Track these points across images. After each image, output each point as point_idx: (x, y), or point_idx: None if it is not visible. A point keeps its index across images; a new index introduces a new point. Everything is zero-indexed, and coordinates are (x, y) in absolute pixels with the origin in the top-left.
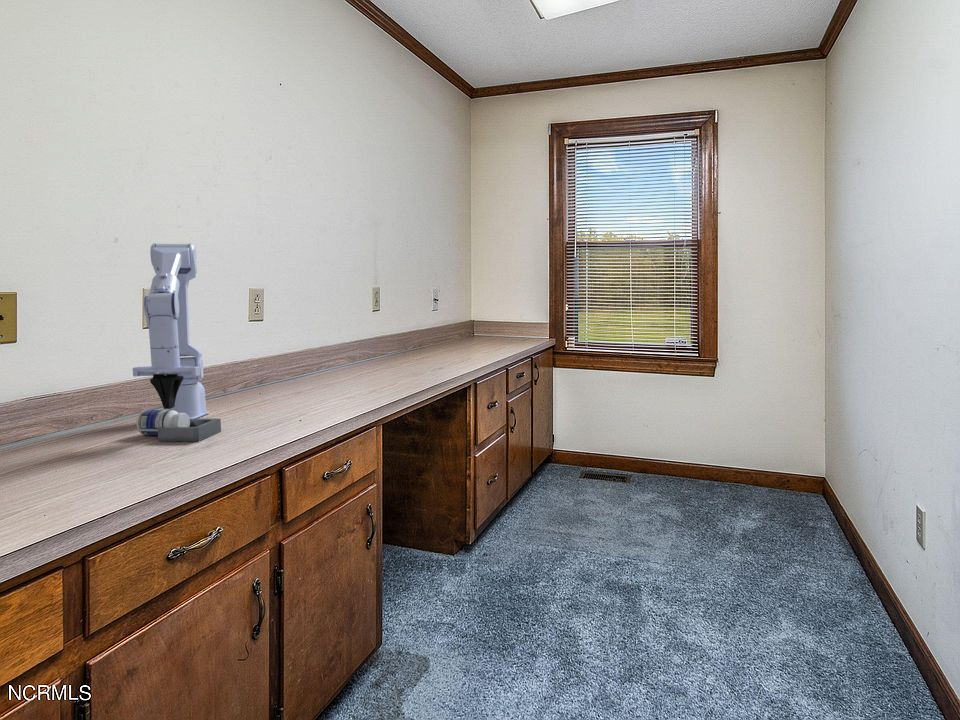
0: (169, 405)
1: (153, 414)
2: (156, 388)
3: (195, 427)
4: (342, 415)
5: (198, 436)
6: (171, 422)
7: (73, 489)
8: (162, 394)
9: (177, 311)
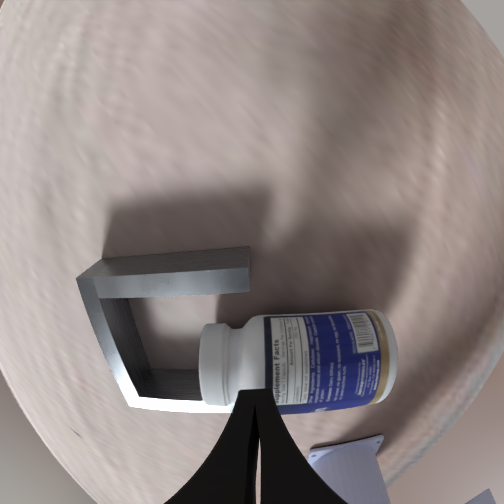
0: (235, 402)
1: (329, 365)
2: (305, 477)
3: (91, 287)
4: (55, 442)
5: (93, 265)
6: (235, 343)
7: None
8: (264, 448)
9: None
